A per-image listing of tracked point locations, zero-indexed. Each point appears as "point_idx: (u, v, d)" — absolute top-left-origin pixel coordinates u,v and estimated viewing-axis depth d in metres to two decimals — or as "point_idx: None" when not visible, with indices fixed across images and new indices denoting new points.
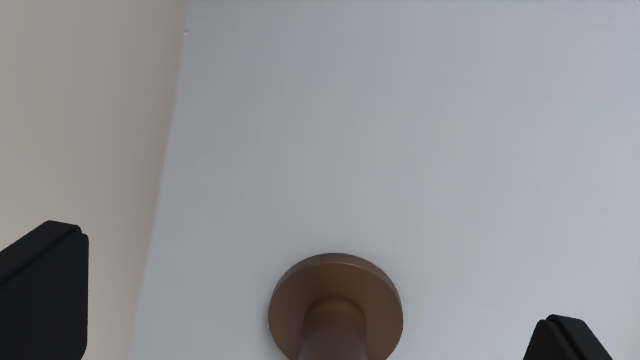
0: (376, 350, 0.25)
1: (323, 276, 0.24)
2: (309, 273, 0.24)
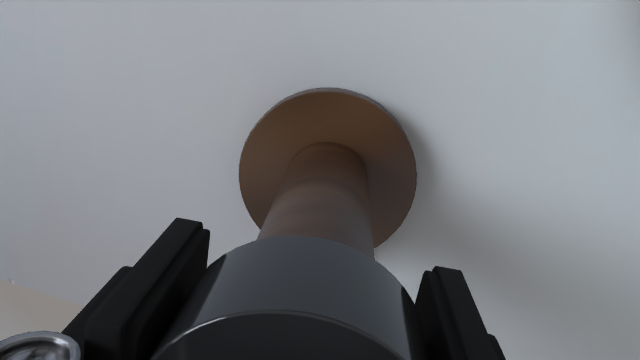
0: (375, 130, 0.18)
1: (257, 188, 0.19)
2: (254, 204, 0.19)
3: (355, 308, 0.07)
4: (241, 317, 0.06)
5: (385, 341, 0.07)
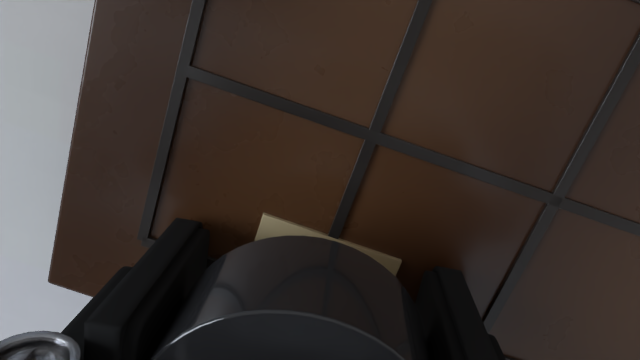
0: None
1: None
2: None
3: (356, 308, 0.07)
4: (243, 316, 0.06)
5: (387, 341, 0.07)
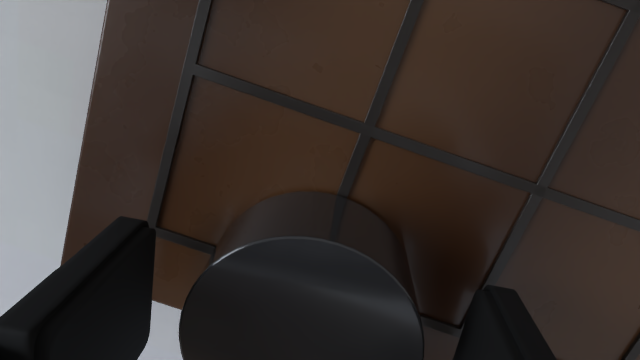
0: None
1: None
2: None
3: (355, 238, 0.09)
4: (270, 241, 0.09)
5: (378, 261, 0.09)
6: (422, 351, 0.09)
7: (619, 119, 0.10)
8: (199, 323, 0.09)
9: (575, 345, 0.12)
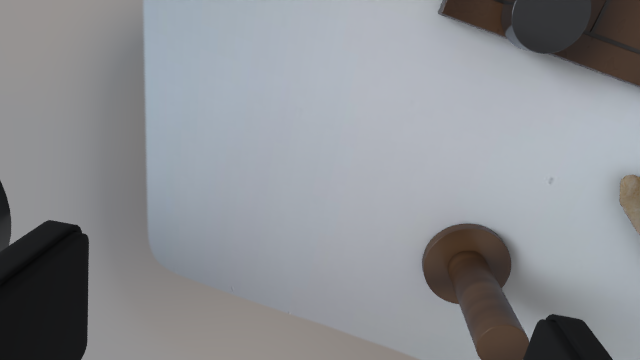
0: (492, 245, 0.39)
1: (432, 270, 0.40)
2: (430, 278, 0.40)
3: None
4: None
5: None
6: (590, 13, 0.30)
7: None
8: (520, 5, 0.30)
9: (632, 38, 0.32)
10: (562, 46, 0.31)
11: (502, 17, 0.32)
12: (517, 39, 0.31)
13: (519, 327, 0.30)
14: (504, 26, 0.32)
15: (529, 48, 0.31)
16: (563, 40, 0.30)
